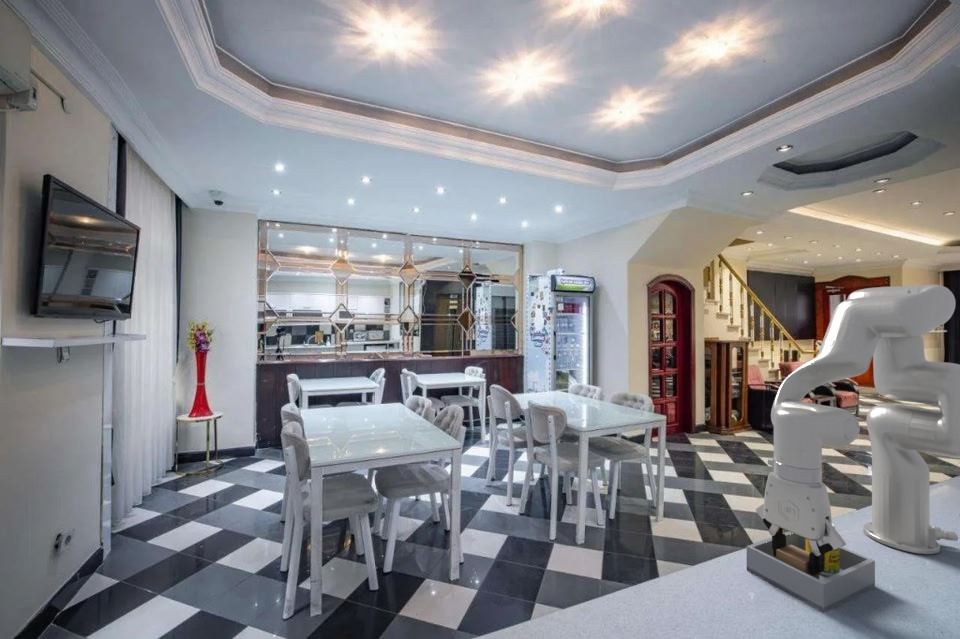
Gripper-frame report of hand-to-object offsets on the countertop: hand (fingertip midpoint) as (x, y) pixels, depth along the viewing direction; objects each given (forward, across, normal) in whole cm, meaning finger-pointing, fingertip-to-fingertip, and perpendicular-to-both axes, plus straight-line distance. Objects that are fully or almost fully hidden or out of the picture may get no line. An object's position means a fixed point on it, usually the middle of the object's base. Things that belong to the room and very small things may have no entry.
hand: (797, 562), depth 81 cm
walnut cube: (+3, 0, 0) cm, 3 cm away
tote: (+4, 0, +4) cm, 6 cm away
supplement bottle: (+3, 0, +8) cm, 9 cm away
